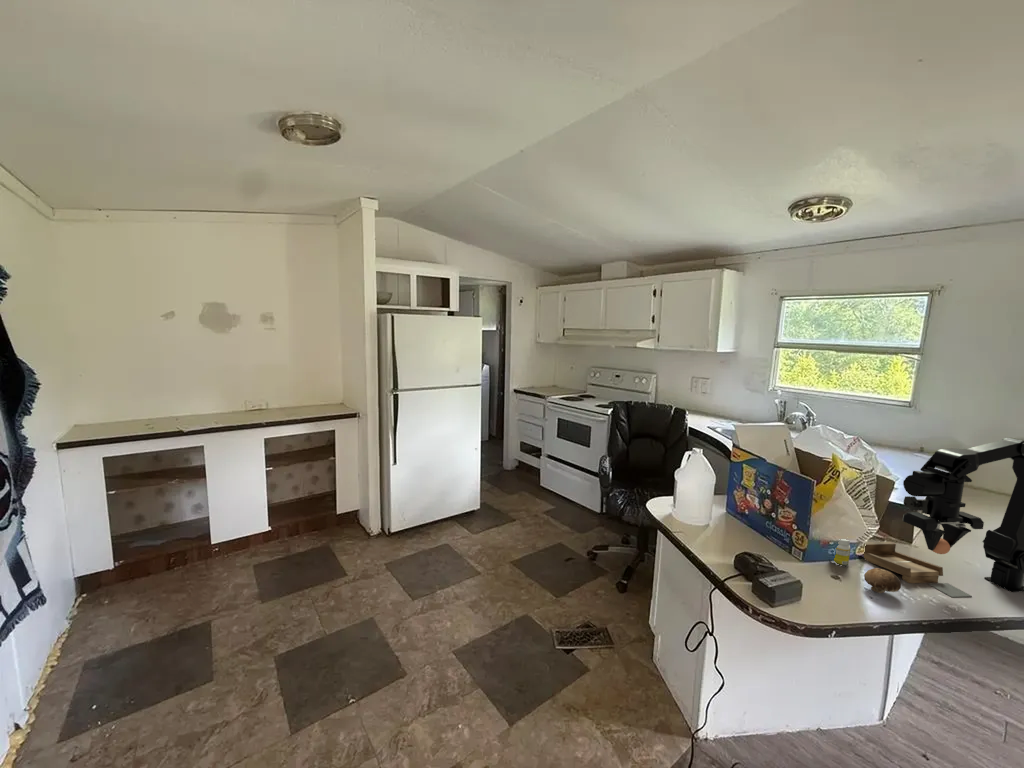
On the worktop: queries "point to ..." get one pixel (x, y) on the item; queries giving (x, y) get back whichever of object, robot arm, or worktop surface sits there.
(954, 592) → the coaster
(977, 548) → the worktop surface
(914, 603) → the worktop surface
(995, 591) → the worktop surface
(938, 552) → the ball
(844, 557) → the supplement bottle
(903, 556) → the tray
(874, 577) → the mushroom
